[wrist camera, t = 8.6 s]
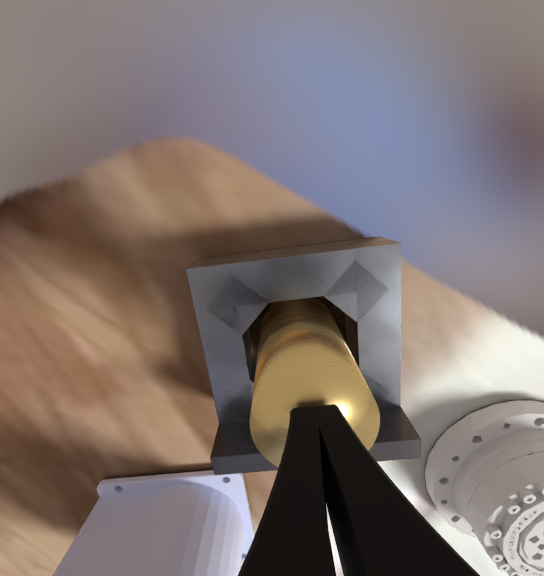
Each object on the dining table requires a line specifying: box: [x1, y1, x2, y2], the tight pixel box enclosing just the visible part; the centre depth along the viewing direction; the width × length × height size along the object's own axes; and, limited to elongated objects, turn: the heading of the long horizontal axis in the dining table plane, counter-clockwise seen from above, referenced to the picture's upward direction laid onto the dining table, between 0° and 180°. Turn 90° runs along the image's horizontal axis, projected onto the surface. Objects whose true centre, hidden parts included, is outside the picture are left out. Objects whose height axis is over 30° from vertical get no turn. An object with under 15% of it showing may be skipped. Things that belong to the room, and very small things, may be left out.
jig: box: [186, 237, 421, 475], centre depth 13 cm, size 9×9×4 cm
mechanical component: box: [425, 400, 544, 576], centre depth 16 cm, size 10×4×10 cm
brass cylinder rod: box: [250, 297, 380, 467], centre depth 12 cm, size 4×4×7 cm
